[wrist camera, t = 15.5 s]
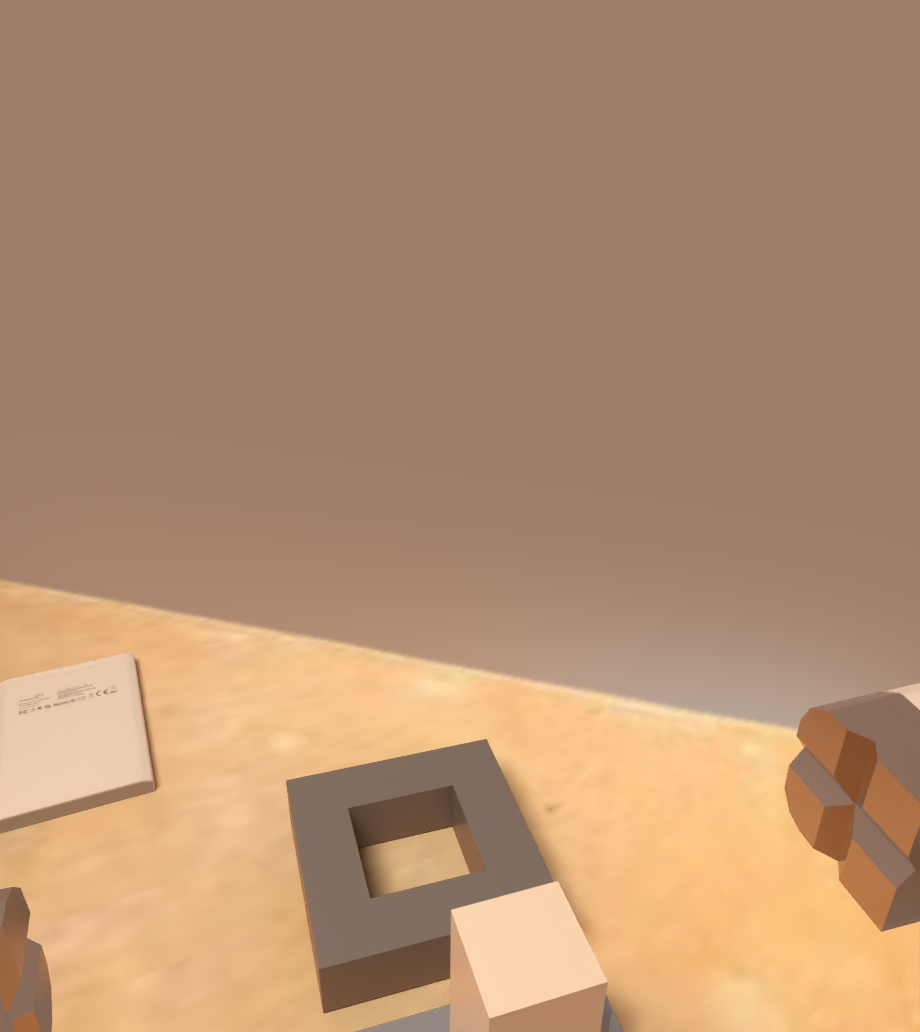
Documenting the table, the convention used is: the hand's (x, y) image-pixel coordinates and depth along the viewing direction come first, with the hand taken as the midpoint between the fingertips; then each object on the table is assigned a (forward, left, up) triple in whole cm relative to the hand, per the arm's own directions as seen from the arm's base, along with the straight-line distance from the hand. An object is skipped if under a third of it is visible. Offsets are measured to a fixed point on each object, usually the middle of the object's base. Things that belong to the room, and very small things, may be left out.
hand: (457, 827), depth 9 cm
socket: (+5, +23, -30) cm, 38 cm away
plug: (+5, +9, -30) cm, 32 cm away
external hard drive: (-12, +39, -31) cm, 51 cm away
